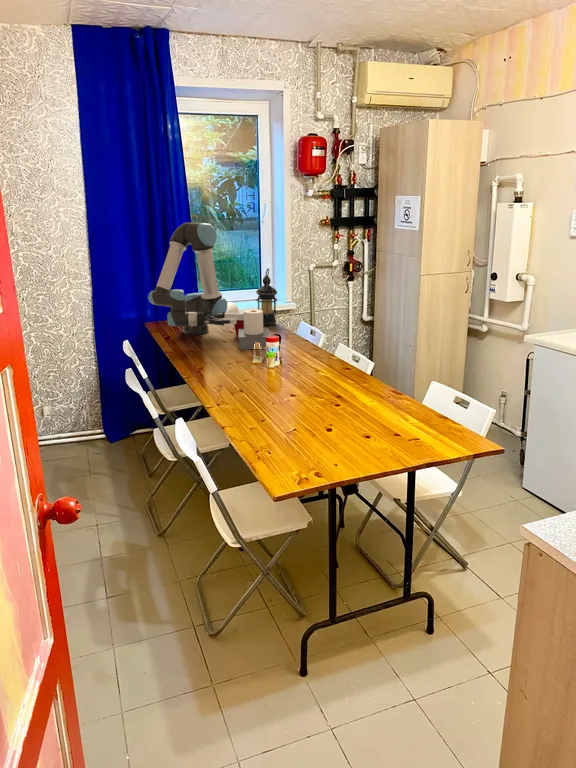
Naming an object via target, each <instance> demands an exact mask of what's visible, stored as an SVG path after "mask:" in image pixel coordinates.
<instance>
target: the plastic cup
mask: <svg viewBox="0 0 576 768" xmlns="http://www.w3.org/2000/svg"><path fill="white" fill-rule="evenodd" d="M236 316H237V318H233V319H236V324H233V327H234V331H235V336H236V338H238V336H239V329H244V313H239V314H238V315H236Z"/></svg>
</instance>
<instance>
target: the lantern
mask: <svg viewBox="0 0 576 768" xmlns="http://www.w3.org/2000/svg"><path fill="white" fill-rule="evenodd" d="M269 274H270V268H267V269H266V270H265V274H264V276H263V278H262V284H263V285H262V286H260V287H259V288H258V289H257V290H256V292H255V293H256V294H257V298H256V299H255V301H256V302H257V310H262V311H263V326H272V325H275V324H276V323H277V320H276V314H277V313H278V311H277V310H276V309H277V307H276V306H277V304H276V303H277V301H278V299H277V298H276V296H275V295H277V294H278V291H277V289H276V288H274V287H273V286H271V285H270V284H271V283H272V281H271V278H270V276H269ZM260 303H261V305H260ZM260 307H261V308H260Z"/></svg>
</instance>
